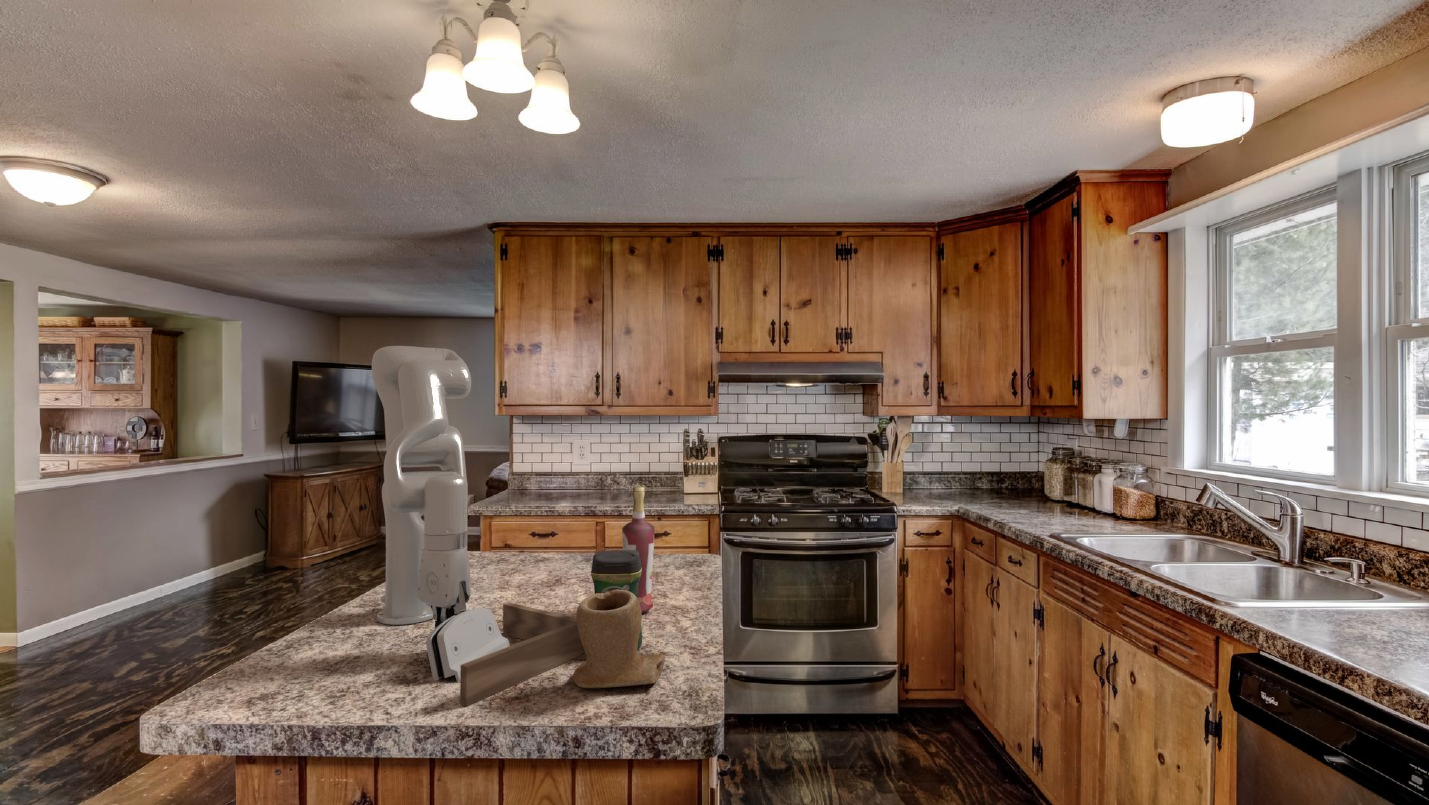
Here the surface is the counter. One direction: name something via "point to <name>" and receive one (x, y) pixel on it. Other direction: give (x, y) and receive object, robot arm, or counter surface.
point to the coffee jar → (617, 573)
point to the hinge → (463, 641)
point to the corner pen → (521, 652)
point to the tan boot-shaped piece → (613, 643)
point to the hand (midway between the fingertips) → (445, 640)
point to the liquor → (641, 547)
